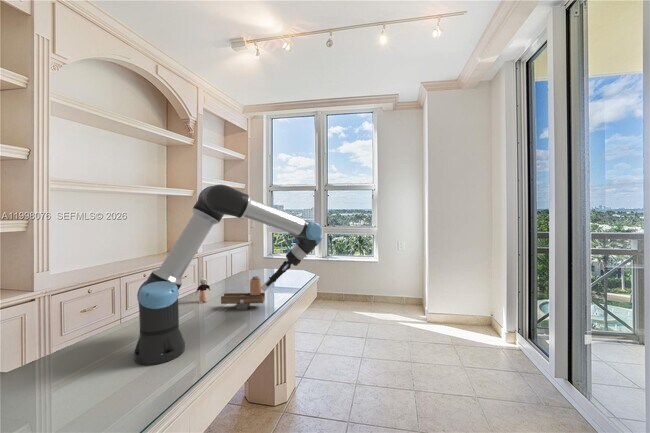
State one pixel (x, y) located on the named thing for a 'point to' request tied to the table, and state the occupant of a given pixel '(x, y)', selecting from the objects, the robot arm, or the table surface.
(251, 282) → the rider
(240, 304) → the beam
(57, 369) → the table surface
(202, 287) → the grandmother figurine
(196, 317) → the table surface
